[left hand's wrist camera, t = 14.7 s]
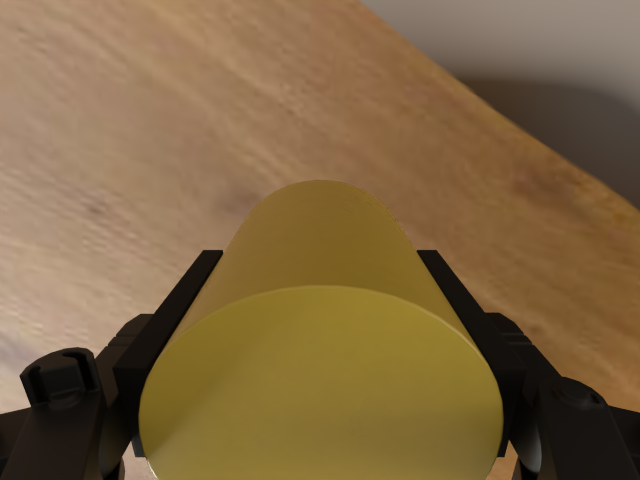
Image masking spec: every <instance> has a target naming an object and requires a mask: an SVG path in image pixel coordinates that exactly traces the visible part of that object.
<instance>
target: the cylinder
mask: <svg viewBox="0 0 640 480" xmlns="http://www.w3.org/2000/svg"><path fill="white" fill-rule="evenodd" d="M138 418H139V435H140V440H141V444H142V449H143V452H144V455H145V457H146V460H147V462H148V465H149V467H150V469H151V471H152V472H153V474H154V476H155V477H156V479H157V480H485V479H486V477H487V476H488V474H489V472H490V471H491V469H492V466H493V464H494V462H495V460H496V458H497V455H498V452H499V448H500V444H501V441H502V434H503V424H504V418H503V406H502V399H501V395H500V392H499V388H498V384H497V381H496V379H495V377H494V375H493V373H492V371H491V369H490V367H489V365H488V363H487V362H486V360H485V358H484V357H483V355H482V354H481V352H480V351H479V349H478V347H477V346H476V344H475V343H474V341H473V340H472V338H471V336H470V335H469V333H468V332H467V330H466V329H465V327H464V325H463V324H462V322H461V321H460V319H459V318H458V316H457V314H456V313H455V311H454V310H453V308H452V307H451V305H450V304H449V302H448V300H447V299H446V297H445V296H444V294H443V293H442V291H441V289H440V288H439V286H438V285H437V283H436V282H435V280H434V278H433V277H432V275H431V274H430V272H429V271H428V269H427V267H426V266H425V264H424V263H423V261H422V260H421V258H420V256H419V255H418V253H417V252H416V250H415V249H414V247H413V245H412V244H411V242H410V241H409V239H408V238H407V236H406V235H405V233H404V231H403V230H402V228H401V227H400V225H399V224H398V222H397V220H396V219H395V218H394V216H393V215H392V213H391V212H390V211H389V210H388V209H387V208H386V207H385V206H384V205H383V204H382V203H381V202H380V201H379V200H377V199H376V198H375V197H374V196H372V195H370V194H369V193H367V192H365V191H364V190H362V189H359V188H357V187H355V186H352V185H349V184H345V183H342V182H336V181H329V180H313V181H304V182H300V183H296V184H292V185H289V186H287V187H284V188H282V189H279V190H278V191H276V192H274V193H272V194H270V195H269V196H268V197H266V198H265V199H264V200H262V201H261V202H260V203H259V204H258V205H257V206H256V207H255V208H254V209H253V210H252V211H251V212H250V214H249V215H248V216H247V218H246V219H245V220H244V222H243V224H242V225H241V227H240V228H239V230H238V231H237V233H236V235H235V236H234V238H233V239H232V241H231V243H230V244H229V246H228V247H227V249H226V251H225V252H224V254H223V255H222V257H221V259H220V260H219V262H218V263H217V265H216V266H215V268H214V270H213V271H212V273H211V274H210V276H209V278H208V279H207V281H206V282H205V284H204V286H203V287H202V289H201V290H200V292H199V293H198V295H197V297H196V298H195V300H194V301H193V303H192V305H191V306H190V308H189V309H188V311H187V313H186V314H185V316H184V317H183V319H182V320H181V322H180V324H179V325H178V327H177V328H176V330H175V332H174V333H173V335H172V336H171V338H170V340H169V341H168V343H167V344H166V346H165V348H164V349H163V351H162V352H161V354H160V355H159V357H158V359H157V360H156V362H155V364H154V366H153V368H152V370H151V371H150V373H149V375H148V377H147V379H146V382H145V386H144V389H143V392H142V395H141V400H140V407H139V415H138Z"/></svg>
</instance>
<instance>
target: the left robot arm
mask: <svg viewBox="0 0 640 480" xmlns="http://www.w3.org/2000/svg"><path fill="white" fill-rule="evenodd" d="M417 253H418V255H419V256H420V258H421V260H422V261H423V263H424V264H425V266H426V267H427V269H428V271H429V272H430V274H431V275H432V277H433V278H434V280H435V282H436V283H437V285H438V286H439V288H440V289H441V291H442V293H443V294H444V296H445V297H446V299H447V300H448V302H449V304H450V305H451V307H452V308H453V310H454V311H455V313H456V314H457V316H458V318H459V319H460V321H461V322H462V324H463V325H464V327H465V329H466V330H467V332H468V333H469V335H470V336H471V338H472V340H473V341H474V343H475V344H476V346H477V347H478V349H479V351H480V352H481V354H482V355H483V357H484V358H485V360H486V362H487V363H488V365H489V367H490V369H491V371H492V373H493V375H494V377H495V379H496V381H497V384H498V388H499V392H500V395H501V399H502V406H503V418H504V424H503V434H502V441H501V444H500V448H499V452H498V455H497V457H504V456H505V453H506V449H507V445H508V441H509V440H510V442H511V444H512V445H513V447H514V449H515V451H516V453H517V454H518V458H517V462H516V465H515V469H514V472H513V476H512V479H511V480H640V413H639V412H634V411H630V410H626V409H621V408H617V407H613V406H609V405H608V404H607V403H606V401H605V400H604V398H603V397H602V396H601V395H599V394H598V393H597V392H596V391H595V390H593V389H592V388H590V387H588V386H587V385H585V384H583V383H581V382H579V381H576V380H573V379H570V378H567V377H562V376H561V375H560V374H559V373H558V372H557V371H556V369H555V368H554V367H553V366H552V365H551V364H550V363H549V361H548V360H547V359H546V358H545V357H544V356H543V355H542V353H541V352H540V351H539V350H538V349H537V348H536V347H535V345H532V342H531V341H530V340H529V339H528V337H527V336H524V333H523V332H522V331H521V329H520V328H519V327H518V326H517V325H516V324H515V323H514V322H513V321H511V320H510V319H508V318H507V317H505V316H504V315H502V314H500V313H485V312H484V311H483V310H482V308H481V307H480V306H479V304H478V303H477V302H476V300H475V299H474V298H473V297H472V295H471V294H470V293H469V291H468V290H467V289H466V288H465V286H464V285H463V284H462V282H461V281H460V280H459V279H458V277H457V276H456V275H455V273H454V272H453V271H452V270H451V268H450V267H449V266H448V264H447V263H446V262H445V261H444V259H443V258H442V257H441V255H440V254H439V253H438V252H437V250H417ZM222 255H223V250H203V251H202V253H201V254H200V255H199V256H198V258H197V259H196V260H195V262H194V263H193V264H192V265H191V267H190V268H189V269H188V271H187V272H186V273H185V274H184V276H183V277H182V278H181V280H180V281H179V282H178V283H177V285H176V286H175V287H174V289H173V290H172V291H171V292H170V294H169V295H168V296H167V298H166V299H165V300H164V301H163V303H162V304H161V305H160V307H159V308H158V309H157V310H156V312H155V313H154V314H140V315H138V316H137V317H135V318H133V319H132V320H130V321H129V322H127V323H126V324H125V325H124V326H123V327H122V328H121V330H120V331H119V332H118V333H117V334H116V337H114V338H113V339H112V340H111V341H110V342H109V343H108V346H106V347H105V348H104V349H103V350H102V351H101V353H100V354H99V355H98V356H97V357H96V358H95V359H94V355H93V353H92V352H91V351H90V350H88V349H86V348H79V347H75V348H66V349H62V350H59V351H55V352H52V353H50V354H47V355H45V356H43V357H41V358H39V359H37V360H36V361H34V362H33V363H32V364H30V365H29V366H27V367H26V368H25V370H24V371H23V372H22V373H21V374H20V379H21V381H22V384H23V387H24V389H25V392H26V394H27V397H28V400H29V402H30V405H31V407H29V408H26V409H21V410H17V411H13V412H8V413H4V414H0V480H124V476H125V467H124V462H123V458H122V456H123V454H124V452H125V450H126V449H127V447H128V445H129V443H130V441H131V442H132V446H133V450H134V454H135V457H145V455H144V452H143V449H142V444H141V440H140V435H139V418H138V415H139V407H140V400H141V395H142V392H143V389H144V386H145V382H146V379H147V377H148V375H149V373H150V371H151V370H152V368H153V366H154V364H155V362H156V360H157V359H158V357H159V355H160V354H161V352H162V351H163V349H164V348H165V346H166V344H167V343H168V341H169V340H170V338H171V336H172V335H173V333H174V332H175V330H176V328H177V327H178V325H179V324H180V322H181V320H182V319H183V317H184V316H185V314H186V313H187V311H188V309H189V308H190V306H191V305H192V303H193V301H194V300H195V298H196V297H197V295H198V293H199V292H200V290H201V289H202V287H203V286H204V284H205V282H206V281H207V279H208V278H209V276H210V274H211V273H212V271H213V270H214V268H215V266H216V265H217V263H218V262H219V260H220V259H221V257H222Z"/></svg>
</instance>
